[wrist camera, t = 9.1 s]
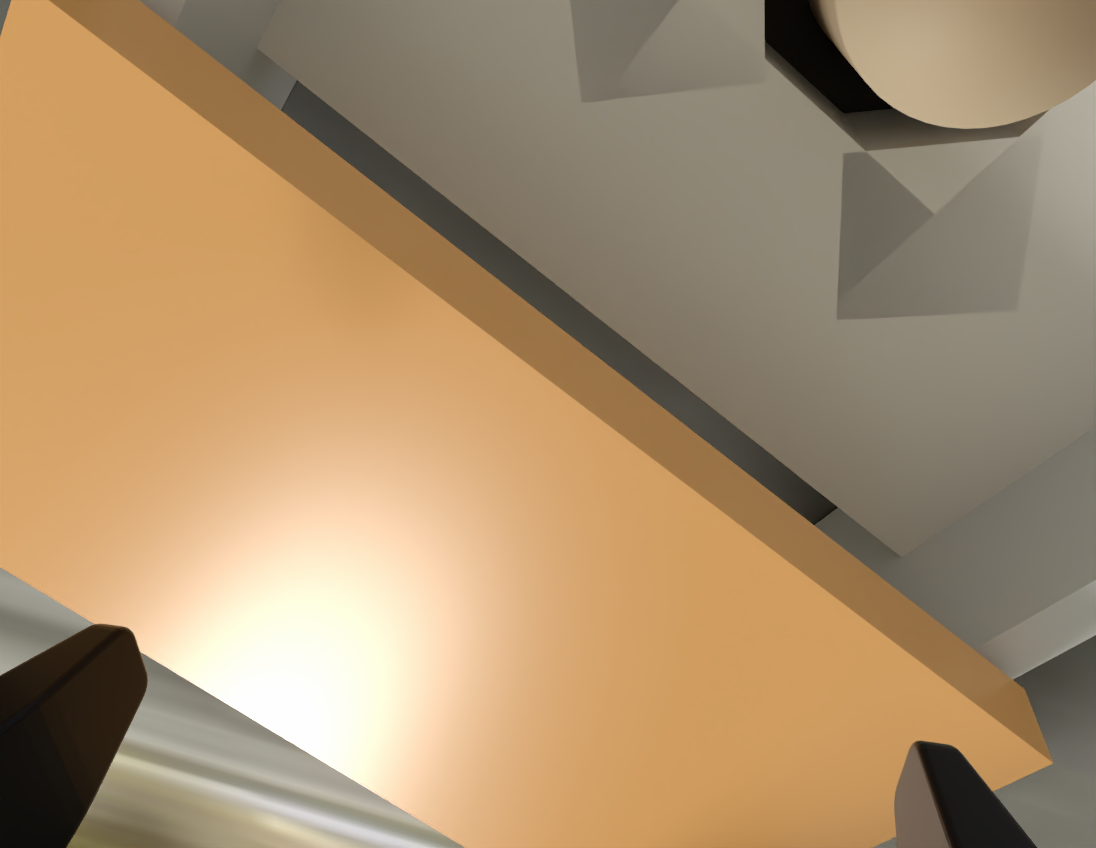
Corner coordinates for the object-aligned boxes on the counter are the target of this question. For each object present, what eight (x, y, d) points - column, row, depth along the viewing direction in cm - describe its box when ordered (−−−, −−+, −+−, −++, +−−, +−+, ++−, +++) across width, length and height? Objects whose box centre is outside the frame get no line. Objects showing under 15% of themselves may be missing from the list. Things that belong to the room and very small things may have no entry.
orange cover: (1024, 689, 15) (1053, 763, 13) (647, 887, 20) (642, 954, 18) (98, -31, 11) (19, -22, 10) (-70, 439, 16) (-137, 484, 15)
